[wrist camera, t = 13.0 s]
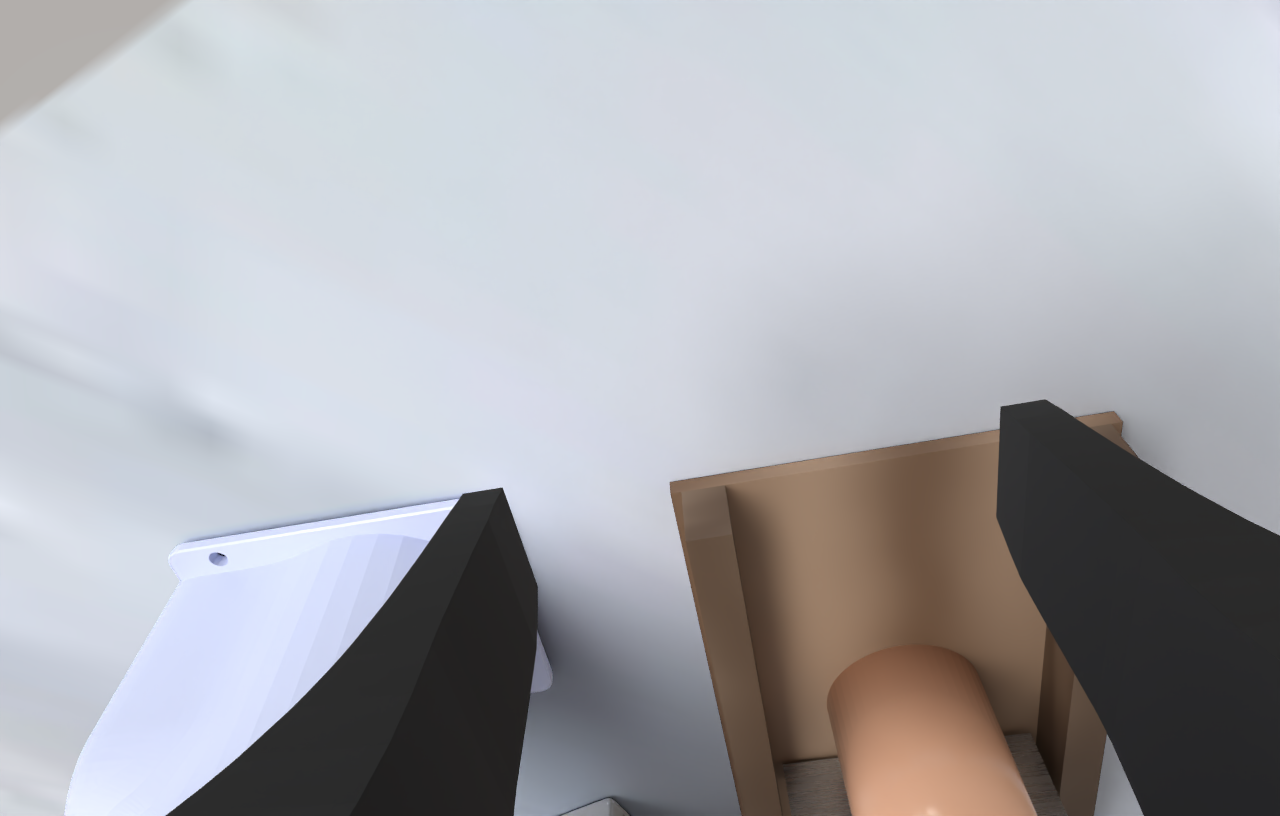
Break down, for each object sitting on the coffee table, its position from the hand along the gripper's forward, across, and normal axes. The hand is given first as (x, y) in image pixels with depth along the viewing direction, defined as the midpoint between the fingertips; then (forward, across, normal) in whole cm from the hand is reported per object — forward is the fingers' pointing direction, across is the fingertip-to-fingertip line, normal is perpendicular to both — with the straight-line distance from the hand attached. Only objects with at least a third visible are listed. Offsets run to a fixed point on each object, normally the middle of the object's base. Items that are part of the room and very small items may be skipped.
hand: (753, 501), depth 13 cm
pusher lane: (+9, -4, +18) cm, 21 cm away
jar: (+9, -4, +17) cm, 19 cm away
